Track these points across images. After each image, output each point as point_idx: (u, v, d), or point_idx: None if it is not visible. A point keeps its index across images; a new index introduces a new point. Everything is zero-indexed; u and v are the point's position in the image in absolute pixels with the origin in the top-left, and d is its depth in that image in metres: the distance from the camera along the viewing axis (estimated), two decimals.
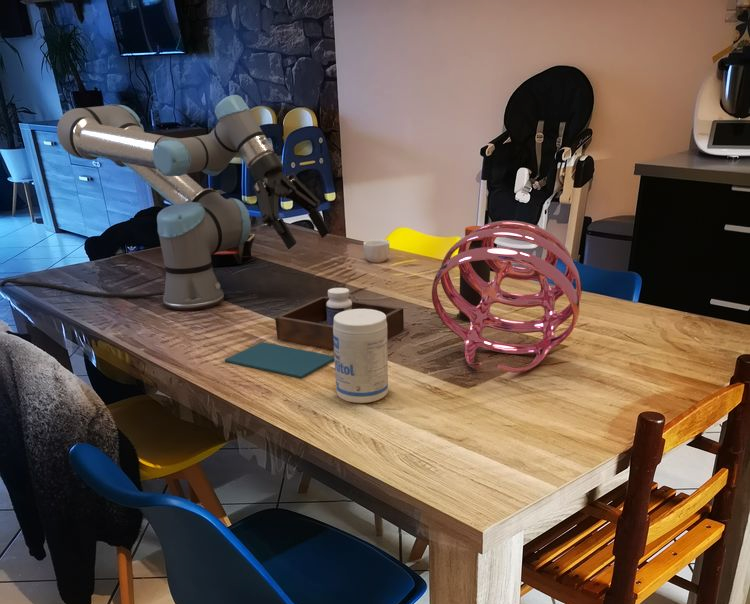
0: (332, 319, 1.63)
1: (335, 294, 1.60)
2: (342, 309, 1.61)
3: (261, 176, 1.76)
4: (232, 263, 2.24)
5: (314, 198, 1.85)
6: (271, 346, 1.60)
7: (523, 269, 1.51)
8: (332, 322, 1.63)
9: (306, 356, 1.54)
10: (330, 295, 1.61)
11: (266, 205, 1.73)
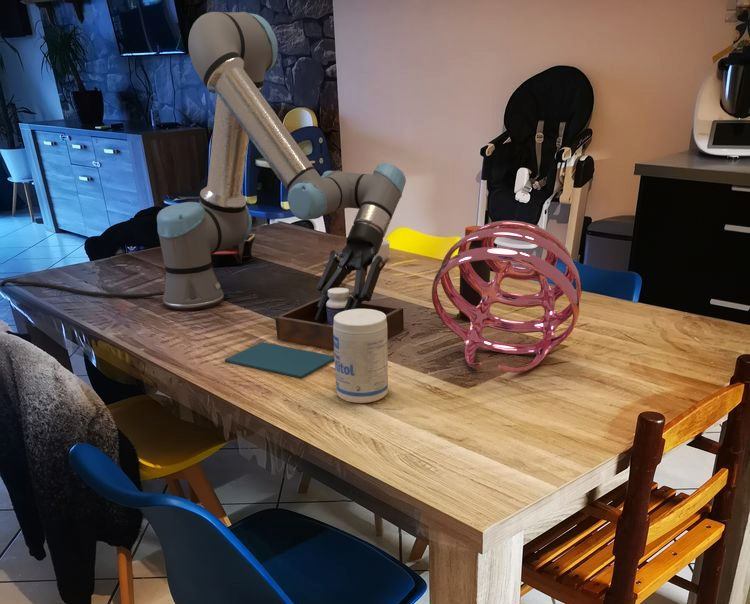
0: (332, 319, 1.63)
1: (335, 294, 1.60)
2: (342, 309, 1.61)
3: (377, 249, 1.64)
4: (232, 263, 2.24)
5: None
6: (271, 346, 1.60)
7: (523, 269, 1.51)
8: (332, 322, 1.63)
9: (306, 356, 1.54)
10: (330, 295, 1.61)
11: None
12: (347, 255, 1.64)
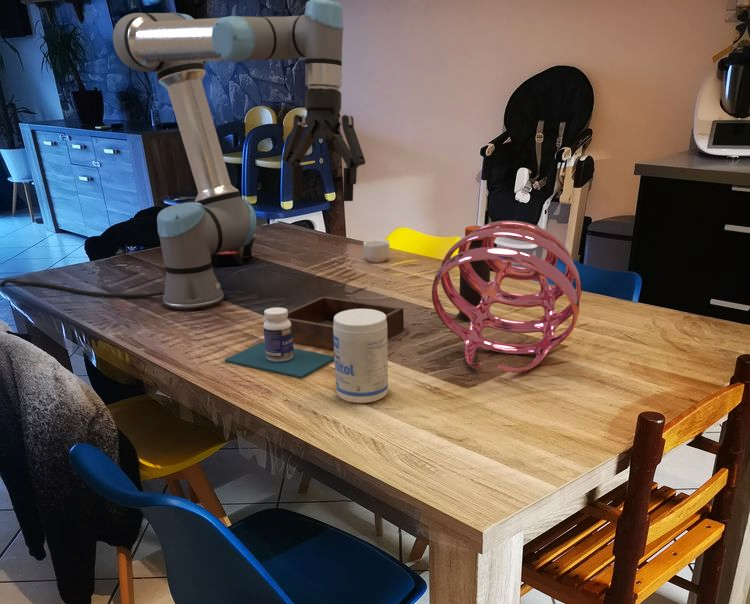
0: (269, 342, 1.50)
1: (271, 315, 1.47)
2: (279, 331, 1.49)
3: (339, 109, 1.55)
4: (232, 263, 2.24)
5: None
6: None
7: (523, 269, 1.51)
8: (269, 345, 1.50)
9: (306, 356, 1.54)
10: (266, 316, 1.48)
11: None
12: (311, 127, 1.58)
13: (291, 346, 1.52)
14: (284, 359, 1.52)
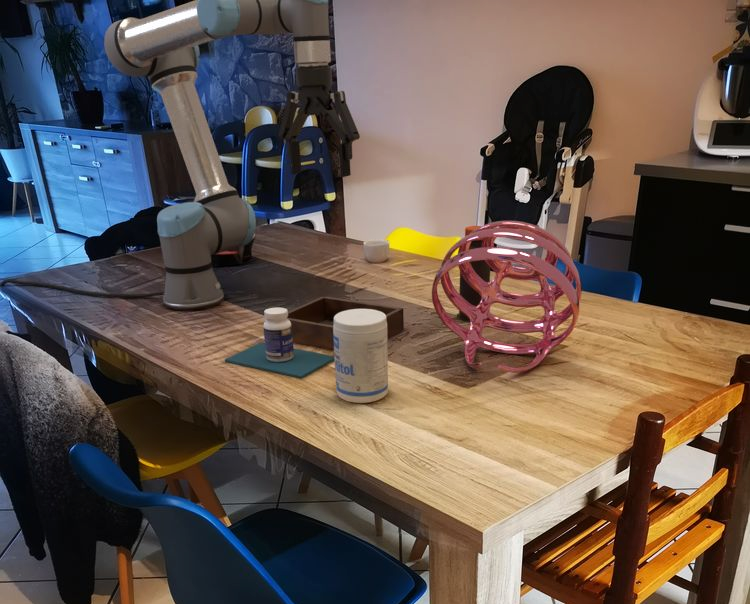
0: (269, 342, 1.50)
1: (271, 315, 1.47)
2: (279, 331, 1.49)
3: (330, 85, 1.57)
4: (232, 263, 2.24)
5: None
6: None
7: (523, 269, 1.51)
8: (269, 345, 1.50)
9: (306, 356, 1.54)
10: (266, 316, 1.48)
11: None
12: (304, 104, 1.60)
13: (291, 346, 1.52)
14: (284, 359, 1.52)
